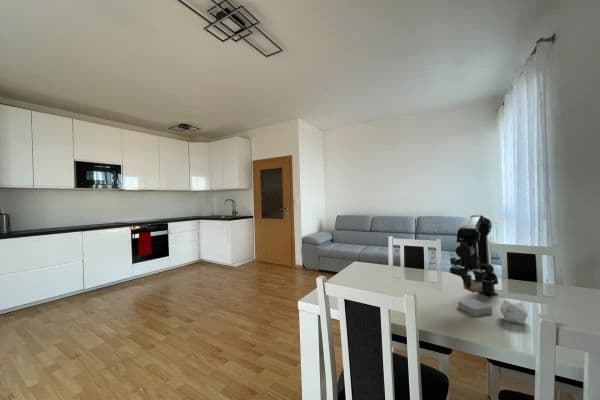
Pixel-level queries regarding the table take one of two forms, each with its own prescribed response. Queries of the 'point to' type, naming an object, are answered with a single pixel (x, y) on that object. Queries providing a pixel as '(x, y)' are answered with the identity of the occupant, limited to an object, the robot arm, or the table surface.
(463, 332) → the table surface
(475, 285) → the block
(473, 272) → the robot arm
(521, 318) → the die
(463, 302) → the base
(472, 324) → the table surface
